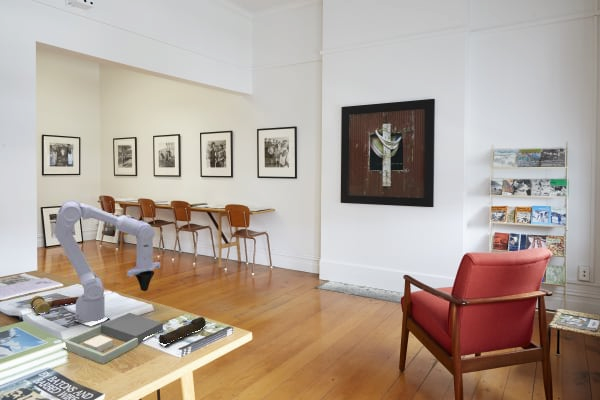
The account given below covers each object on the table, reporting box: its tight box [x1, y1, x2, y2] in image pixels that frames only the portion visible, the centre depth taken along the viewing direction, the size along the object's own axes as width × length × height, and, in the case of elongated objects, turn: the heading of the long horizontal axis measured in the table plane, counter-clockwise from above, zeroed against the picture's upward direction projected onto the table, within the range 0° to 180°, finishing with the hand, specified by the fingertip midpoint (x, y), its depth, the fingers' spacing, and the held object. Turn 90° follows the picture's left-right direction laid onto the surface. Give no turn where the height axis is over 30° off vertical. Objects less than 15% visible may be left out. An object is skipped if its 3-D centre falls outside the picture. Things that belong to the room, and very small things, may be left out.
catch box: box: [63, 325, 139, 365], centre depth 129 cm, size 18×13×2 cm
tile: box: [82, 334, 114, 353], centre depth 128 cm, size 6×6×2 cm
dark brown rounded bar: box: [158, 316, 207, 344], centre depth 139 cm, size 19×4×5 cm, turn 144°
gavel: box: [29, 295, 80, 314], centre depth 159 cm, size 21×5×10 cm
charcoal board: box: [100, 312, 164, 345], centre depth 140 cm, size 16×12×3 cm
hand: (144, 290), depth 154 cm, fingers closed
